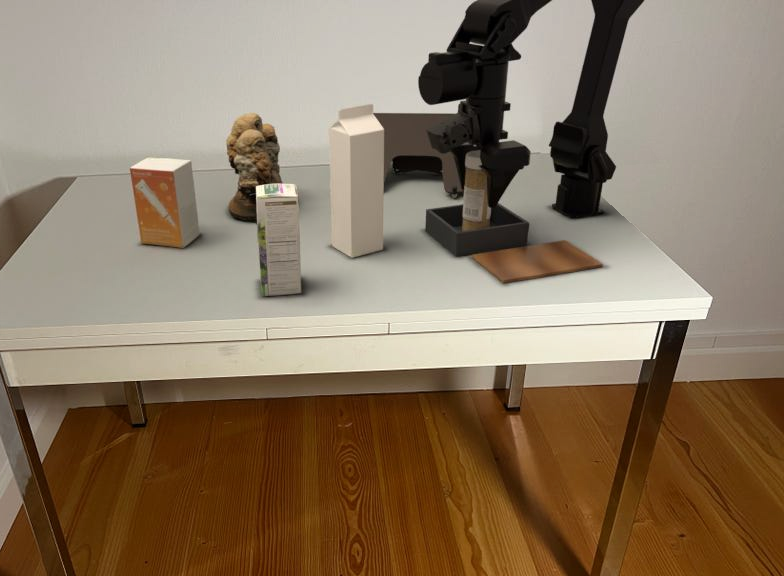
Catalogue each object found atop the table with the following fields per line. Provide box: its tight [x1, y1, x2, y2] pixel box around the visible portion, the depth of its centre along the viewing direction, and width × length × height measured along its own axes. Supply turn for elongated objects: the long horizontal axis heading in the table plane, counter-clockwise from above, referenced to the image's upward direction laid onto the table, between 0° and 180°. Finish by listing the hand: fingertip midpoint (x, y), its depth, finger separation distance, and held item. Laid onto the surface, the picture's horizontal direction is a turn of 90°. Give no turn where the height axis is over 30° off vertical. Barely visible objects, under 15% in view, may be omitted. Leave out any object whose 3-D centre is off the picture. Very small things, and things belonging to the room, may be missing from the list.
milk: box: [328, 103, 385, 259], centre depth 115 cm, size 6×6×22 cm
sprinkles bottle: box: [462, 150, 491, 231], centre depth 119 cm, size 5×5×14 cm
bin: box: [424, 202, 530, 257], centre depth 121 cm, size 12×12×4 cm
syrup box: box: [255, 183, 302, 297], centre depth 105 cm, size 6×6×14 cm
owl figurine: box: [225, 112, 284, 221], centre depth 135 cm, size 18×12×17 cm, turn 174°
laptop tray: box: [373, 112, 464, 199], centre depth 148 cm, size 23×23×9 cm
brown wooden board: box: [471, 239, 604, 284], centre depth 113 cm, size 16×10×1 cm, turn 106°
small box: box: [129, 157, 201, 249], centre depth 124 cm, size 8×6×13 cm
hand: (477, 198), depth 119 cm, fingers open, 9 cm apart
